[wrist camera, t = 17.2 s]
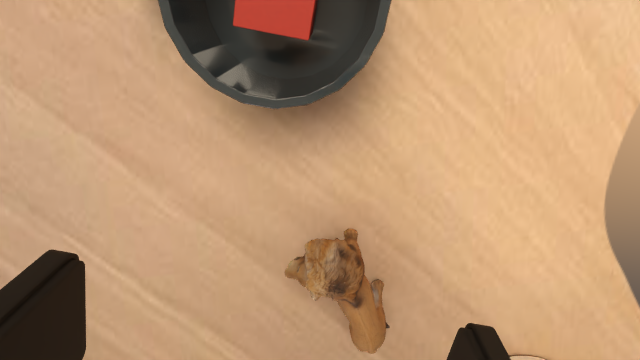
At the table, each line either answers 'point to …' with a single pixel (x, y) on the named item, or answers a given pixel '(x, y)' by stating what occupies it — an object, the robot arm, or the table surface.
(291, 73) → the dark gray mug
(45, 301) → the robot arm
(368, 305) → the lion figurine
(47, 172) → the table surface
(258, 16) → the red block
